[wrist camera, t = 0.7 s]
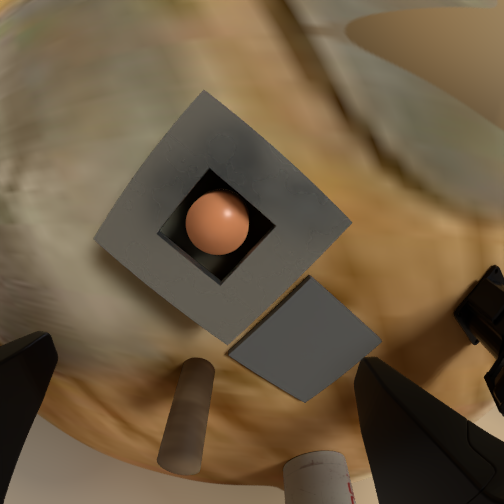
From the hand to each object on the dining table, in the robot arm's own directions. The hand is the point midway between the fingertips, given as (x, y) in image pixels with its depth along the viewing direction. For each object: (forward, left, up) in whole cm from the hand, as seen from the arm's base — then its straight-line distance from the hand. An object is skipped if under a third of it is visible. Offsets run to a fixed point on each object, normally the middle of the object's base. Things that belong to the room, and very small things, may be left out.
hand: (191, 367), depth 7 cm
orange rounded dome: (+1, -1, -12) cm, 12 cm away
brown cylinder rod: (-6, +11, -14) cm, 19 cm away
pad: (-11, +3, -14) cm, 18 cm away
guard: (+1, -1, -14) cm, 14 cm away
